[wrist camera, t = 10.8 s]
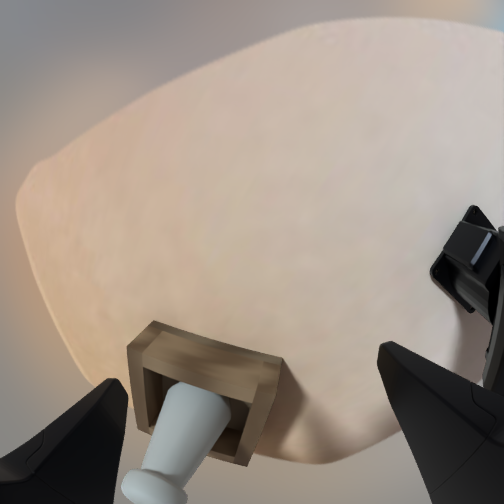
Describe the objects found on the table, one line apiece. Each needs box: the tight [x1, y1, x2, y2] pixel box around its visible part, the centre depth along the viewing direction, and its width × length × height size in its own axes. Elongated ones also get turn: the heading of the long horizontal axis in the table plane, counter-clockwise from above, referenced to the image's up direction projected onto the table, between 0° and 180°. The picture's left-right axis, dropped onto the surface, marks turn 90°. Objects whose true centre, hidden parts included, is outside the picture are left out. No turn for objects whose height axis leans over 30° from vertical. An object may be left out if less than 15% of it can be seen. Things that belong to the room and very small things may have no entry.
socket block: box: [127, 321, 282, 467], centre depth 21 cm, size 11×11×4 cm
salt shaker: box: [121, 382, 231, 504], centre depth 16 cm, size 6×6×13 cm
